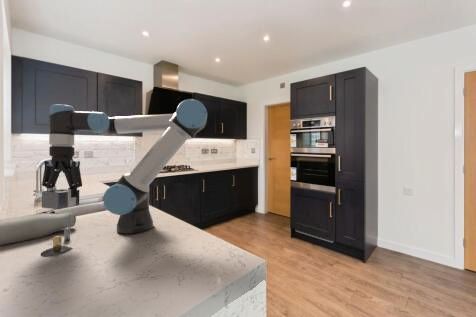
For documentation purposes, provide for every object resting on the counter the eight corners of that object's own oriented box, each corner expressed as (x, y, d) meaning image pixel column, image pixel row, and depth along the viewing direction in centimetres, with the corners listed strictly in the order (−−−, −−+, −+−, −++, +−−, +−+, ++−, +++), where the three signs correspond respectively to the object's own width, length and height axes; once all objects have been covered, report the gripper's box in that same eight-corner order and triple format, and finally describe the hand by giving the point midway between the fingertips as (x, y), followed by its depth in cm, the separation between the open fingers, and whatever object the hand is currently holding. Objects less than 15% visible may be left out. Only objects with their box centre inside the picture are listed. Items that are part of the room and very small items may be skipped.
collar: (79, 204, 88) (79, 189, 88) (58, 209, 80) (58, 192, 80) (63, 203, 90) (63, 188, 90) (41, 207, 82) (41, 191, 82)
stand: (86, 238, 93) (86, 225, 93) (67, 246, 84) (67, 232, 84) (67, 237, 94) (67, 224, 94) (46, 245, 85) (46, 231, 85)
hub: (79, 247, 83) (79, 232, 83) (56, 257, 75) (56, 241, 75) (57, 246, 85) (57, 231, 85) (33, 256, 76) (33, 240, 76)
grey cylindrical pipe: (-15, 241, 87) (72, 224, 108) (-15, 253, 80) (78, 233, 101) (-16, 217, 86) (73, 205, 107) (-16, 227, 79) (78, 212, 100)
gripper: (94, 146, 87) (93, 204, 87) (49, 146, 91) (49, 202, 91) (76, 145, 79) (76, 208, 79) (29, 145, 83) (28, 206, 83)
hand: (61, 205), depth 85 cm, fingers closed on collar, 8 cm apart
